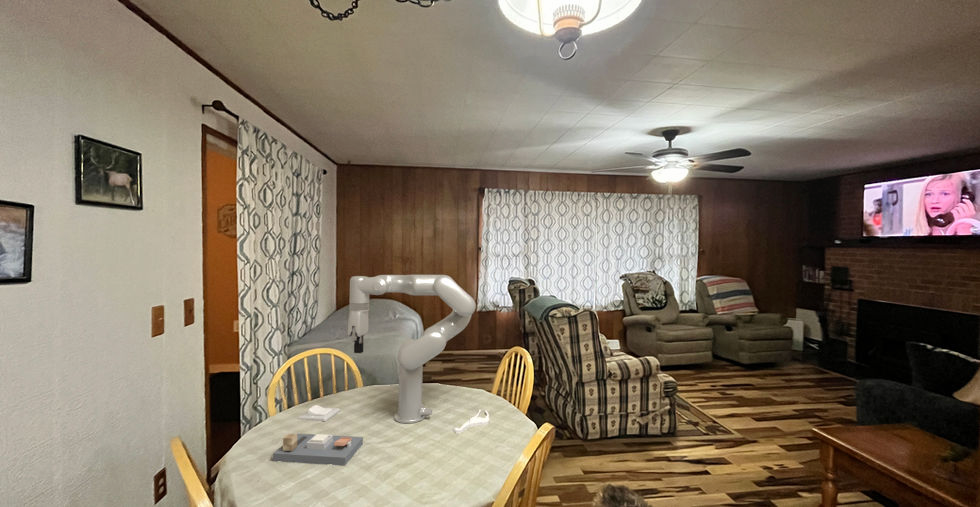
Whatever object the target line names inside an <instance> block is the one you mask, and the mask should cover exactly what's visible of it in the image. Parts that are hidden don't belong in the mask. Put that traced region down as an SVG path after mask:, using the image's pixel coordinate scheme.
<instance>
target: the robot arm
mask: <svg viewBox="0 0 980 507" xmlns="http://www.w3.org/2000/svg"><path fill="white" fill-rule="evenodd" d="M385 293H400V294H402V293H403V294H407V295H410V296H438V297H439V298H440V299H441V300H442V301H443V302H444V303H445V304H446V305H447V306H448V307H450V308H451V309H452V311H451V312H450V314H448V315H447V316H446V317H444V318H443V319H441V320H440V321H437V322H436V323H435V324H433V325H431V326H429V327H428V328H426V329H425V330H424V331H423V334H422V335H421V337H419V338H417V339H414V338H410V339H407V340H405V341H403V342H402V344H400V347H399V349H398V354H397V361H398V395H397V396H398V401H397V402H398V405H397V406H398V407H397V409H398V411H396V412H395V413H394V415H393V416H394V417H393V418H394V420H395V421H396V422H397V423H401V424H414V423H418V422H421V421H423V420H424V419H425V418H426V416H432V415H433V410H432V409H431V407H425V404H424V403H423V369H424V368H423V366H424V364H426V363H427V362H429V361H431V360H432V359H433V358H436V357H437V356H438V355H440V354H441V353H442V352H443V351H444V350H445V347H446V345H447V342H448V341H449V340H451V339H453V338H454V337H455V336H457V335H458V334H460V333H461V332H462V331H463V330H465V328H466V327H467V326H468V324H469V323H470V321H471V319H472V315H473V314H474V312H475V311H476V307H477V305H476V301H475V300H474V298H473V297H472V296H471V295H470V294H468V292H466V291H465V290H464V289H463V288H462V287H460V286H459V284H457V283H456V281H455V280H454V279H453V278H452V277H451V276H449V275H448V274H447V275H446V274H405V275H404V274H380V275H379V274H377V275H376V276H371V277H370V276H363V275H355V276H351V278H350V279H349V308H348V309H349V314H348V322H347V323H348V324H347V336H348V337H351V341H353V353H354V354H362V353H363V352H364V342H365V336H366V334H367V333H368V332H369V311H370V295H375V296H382V295H384V294H385Z"/></svg>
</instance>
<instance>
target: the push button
mask: <svg viewBox="0 0 980 507" xmlns="http://www.w3.org/2000/svg"><path fill="white" fill-rule="evenodd" d="M316 434H317V435H316V436H315V437H314V438H313V439H311V442H319V443H324V442H325V441H326V440H327V439H328V438H329V435H330V434H321V433H316Z"/></svg>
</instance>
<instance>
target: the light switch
mask: <svg viewBox="0 0 980 507" xmlns="http://www.w3.org/2000/svg"><path fill="white" fill-rule="evenodd" d="M339 412H341V409H340V407H339V408H338V407H337V408H336V407H323V406H320V405H318V404H315V405H313V406H311V407H310V408H308V410H307V411H306V412H304V413H303V414H301V415H300V416H298V417H297V419H298V420H304V419H305V420H306V421H314V420H315V421H314V422H326V421H328V420H329V419H331V418H332V417H334V416H335V415H336V414H338V413H339Z"/></svg>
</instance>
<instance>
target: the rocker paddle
mask: <svg viewBox="0 0 980 507" xmlns="http://www.w3.org/2000/svg"><path fill="white" fill-rule="evenodd" d="M351 440H352V438H351V437H341V439H339V440H337V441H336V442H335V443H334V445H337V446H344V445H347V443H348V442H349V441H351Z"/></svg>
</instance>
